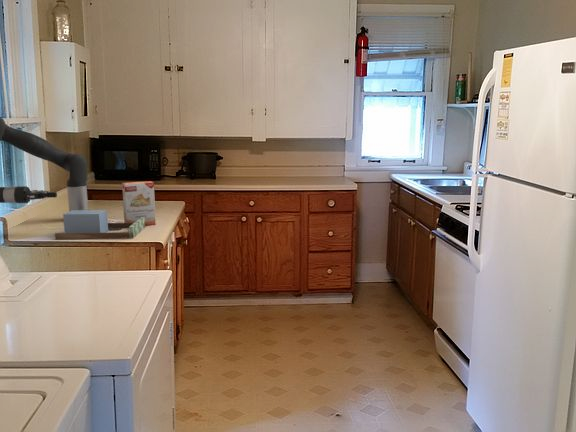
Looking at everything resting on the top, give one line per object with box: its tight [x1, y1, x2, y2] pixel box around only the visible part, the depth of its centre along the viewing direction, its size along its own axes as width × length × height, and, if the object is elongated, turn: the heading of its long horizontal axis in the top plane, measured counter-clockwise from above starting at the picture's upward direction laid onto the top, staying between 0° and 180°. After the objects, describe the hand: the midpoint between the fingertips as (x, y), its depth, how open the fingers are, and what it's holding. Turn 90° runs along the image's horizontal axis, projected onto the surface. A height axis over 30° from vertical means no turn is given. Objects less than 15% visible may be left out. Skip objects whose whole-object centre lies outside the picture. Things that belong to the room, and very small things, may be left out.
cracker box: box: [121, 180, 157, 227], centre depth 266 cm, size 14×6×21 cm, turn 117°
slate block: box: [62, 209, 109, 233], centre depth 250 cm, size 10×16×10 cm, turn 89°
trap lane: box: [54, 217, 146, 240], centre depth 251 cm, size 22×34×5 cm, turn 91°
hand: (56, 194), depth 248 cm, fingers closed
